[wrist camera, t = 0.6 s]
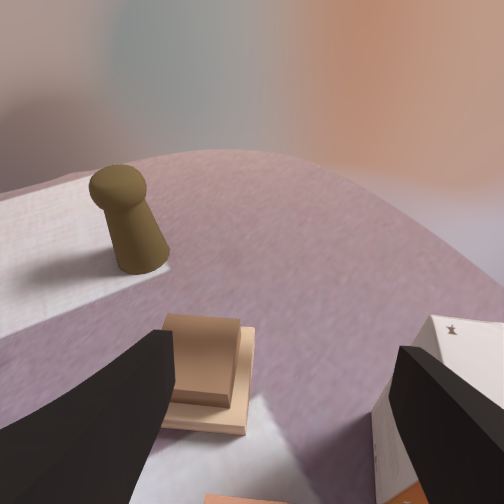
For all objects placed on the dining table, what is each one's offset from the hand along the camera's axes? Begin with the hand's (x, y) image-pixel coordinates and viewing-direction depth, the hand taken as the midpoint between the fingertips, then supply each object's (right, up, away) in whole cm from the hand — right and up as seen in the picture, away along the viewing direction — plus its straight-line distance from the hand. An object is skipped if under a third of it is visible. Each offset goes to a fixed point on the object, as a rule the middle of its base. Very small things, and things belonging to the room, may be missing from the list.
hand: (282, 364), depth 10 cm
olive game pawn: (-14, +3, +28) cm, 31 cm away
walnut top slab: (-5, -6, +16) cm, 17 cm away
